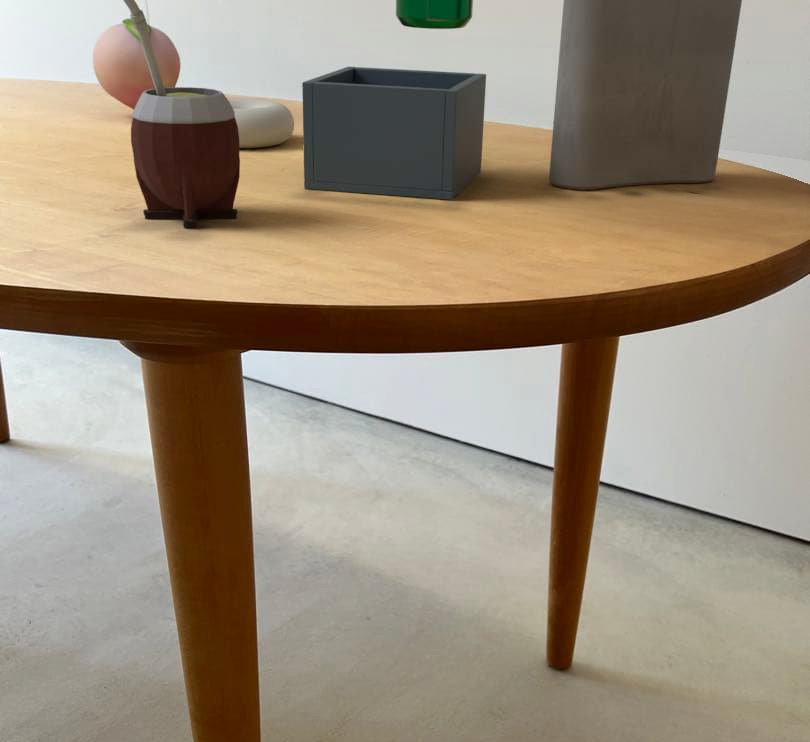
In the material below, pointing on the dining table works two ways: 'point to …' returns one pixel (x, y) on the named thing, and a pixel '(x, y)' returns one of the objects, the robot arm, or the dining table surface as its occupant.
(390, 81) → the bin
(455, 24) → the soda can
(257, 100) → the donut
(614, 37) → the flask
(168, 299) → the dining table surface
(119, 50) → the decorative fruit
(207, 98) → the mate gourd
